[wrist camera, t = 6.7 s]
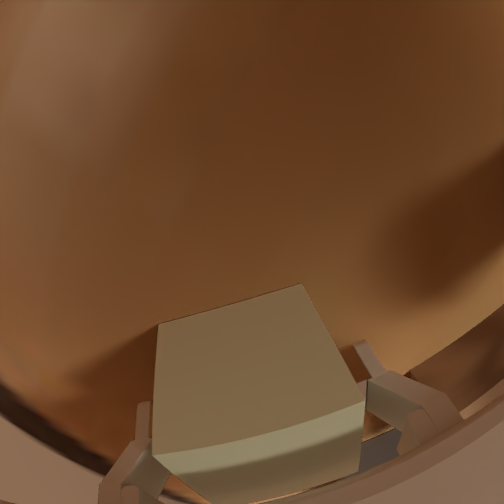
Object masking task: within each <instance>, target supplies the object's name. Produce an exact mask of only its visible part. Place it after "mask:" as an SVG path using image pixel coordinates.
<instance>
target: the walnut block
mask: <svg viewBox="0 0 504 504" xmlns="http://www.w3.org/2000/svg"><path fill="white" fill-rule="evenodd" d="M410 376H411V379H412V380H414V381H417V382H419V383H422V384H424V385H426V386H429V387H431V388H434V389H436V390H439V391H441V392H443V393H446V395H447V396H448V397H449V399H450V400H451V402H452V403H453V405H454V406H455V407H456V409H457V410H458V412H459V413H460V415H461V416H462V418H463V419H464V420H465V419H467V418H468V417H470V416H471V415H473V414H474V413H476V412H477V411H479V410H480V409H482V408H483V407H485V406H486V405H488V404H489V403H490V402H492V401H493V400H495V399H496V398H497V397H499V396H500V395H501V394H503V393H504V304H503V305H502V306H501V307H500V308H498V309H497V310H496V311H495V312H493V313H492V314H491V315H490V316H488V317H487V318H486V319H484V320H483V321H482V322H481V323H479V324H478V325H477V326H475V327H474V328H473V329H471V330H470V331H468V332H467V333H466V334H464V335H463V336H462V337H460V338H459V339H457V340H456V341H454V342H453V343H451V344H450V345H449V346H447V347H446V348H444V349H443V350H441V351H440V352H438V353H437V354H435V355H433V356H432V357H430V358H429V359H427V360H426V361H424V362H422V363H421V364H419V365H418V366H416V367H414V368H413V369H411V370H410Z"/></svg>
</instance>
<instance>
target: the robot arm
mask: <svg viewBox="0 0 504 504" xmlns="http://www.w3.org/2000/svg"><path fill="white" fill-rule="evenodd" d="M338 350H339V352H340V354H341V356H342V357H343V359H344V361H345V363H346V365H347V367H348V369H349V370H350V372H351V374H352V376H353V378H354V380H355V382H356V384H357V386H358V387H359V389H360V391H361V393H362V395H363V397H364V399H365V409H366V411H368V412H370V413H371V414H373V415H375V416H376V417H378V418H379V419H381V420H383V421H384V422H386V423H388V424H389V425H391V426H393V427H394V428H396V429H398V430H399V431H401V432H402V435H401V438H400V441H399V443H398V446H397V451H398V453H399V455H400V456H398V457H396V458H394V459H392V460H390V461H387V462H385V463H383V464H381V465H378V466H376V467H374V468H371V469H369V470H366V471H364V472H361V473H359V474H356V475H354V476H351V477H348V478H346V479H343V480H340V481H337V482H334V483H332V484H329V485H326V486H323V487H319V488H316V489H313V490H310V491H306V492H303V493H299V494H296V495H292V496H288V497H285V498H281V499H277V500H272V501H268V502H264V503H259V504H504V393H503V394H501V395H500V396H499V397H497V398H496V399H495V400H493V401H492V402H490V403H489V404H488V405H486V406H485V407H483V408H482V409H480V410H479V411H477V412H476V413H474V414H473V415H471V416H470V417H468V418H467V419H465V420H464V419H463V418H462V416H461V415H460V413H459V412H458V410H457V409H456V407H455V406H454V405H453V403H452V402H451V400H450V399H449V397H448V396H447V395H446V393H443V392H441V391H439V390H436V389H434V388H431V387H429V386H426V385H424V384H422V383H419V382H417V381H414V380H412V379H410V378H407V377H405V376H403V375H400V374H398V373H396V372H393V371H391V370H390V371H386V370H385V368H384V367H383V365H382V364H381V362H380V361H379V359H378V357H377V356H376V354H375V353H374V351H373V350H372V348H371V347H370V345H369V344H368V342H367V341H366V340H363V341H360V342H357V343H355V344H352V345H349V346H346V347H344V348H341V349H338ZM152 421H153V400H150V401H144V402H139V404H138V406H137V415H136V428H135V440H132V441H131V442H130V443H129V444H128V446H127V447H126V448H125V450H124V451H123V453H122V454H121V455H120V457H119V458H118V460H117V461H116V462H115V464H114V465H113V467H112V468H111V469H110V471H109V472H108V473H107V475H106V476H105V478H104V479H103V480H102V482H101V483H100V484H99V494H98V504H164V503H162V502H161V501H159V500H157V499H158V497H159V495H160V493H161V491H162V489H163V487H164V486H165V484H166V482H167V480H168V478H169V475H170V473H171V472H170V471H169V470H168V469H167V468H166V467H164V466H163V465H162V464H161V463H160V462H159V461H158V460H156V459H155V458H154V457H153V456H152ZM0 504H15V503H10V502H6V501H3V500H0Z"/></svg>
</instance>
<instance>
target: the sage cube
mask: <svg viewBox="0 0 504 504" xmlns="http://www.w3.org/2000/svg"><path fill="white" fill-rule="evenodd" d="M364 411H365V399H364V397H363V395H362V393H361V391H360V389H359V387H358V386H357V384H356V382H355V380H354V378H353V376H352V374H351V372H350V370H349V369H348V367H347V365H346V363H345V361H344V359H343V357H342V356H341V354H340V352H339V350H338V348H337V346H336V345H335V343H334V341H333V339H332V337H331V335H330V334H329V332H328V330H327V328H326V326H325V324H324V323H323V321H322V319H321V317H320V315H319V314H318V312H317V310H316V308H315V306H314V304H313V303H312V301H311V299H310V297H309V296H308V294H307V292H306V290H305V288H304V287H303V285H302V283H301V284H297V285H294V286H291V287H288V288H284V289H281V290H278V291H274V292H271V293H268V294H265V295H261V296H258V297H254V298H251V299H248V300H244V301H241V302H237V303H234V304H230V305H227V306H223V307H220V308H216V309H213V310H209V311H206V312H202V313H198V314H195V315H191V316H187V317H184V318H180V319H176V320H173V321H169V322H165V323H161V324H159V326H158V337H157V349H156V362H155V377H154V395H153V421H152V456H153V457H154V458H155V459H156V460H158V461H159V462H160V463H161V464H162V465H163V466H164V467H166V468H167V469H168V470H169V471H170V472H171V473H173V474H174V475H175V476H176V477H178V478H179V479H180V480H181V481H182V482H184V483H185V484H186V485H187V486H189V487H190V488H191V489H193V490H194V491H195V492H197V493H198V494H199V495H200V496H202V497H203V498H205V499H206V500H207V501H209V502H210V503H211V504H248V503H253V502H258V501H263V500H267V499H271V498H276V497H280V496H284V495H287V494H291V493H295V492H298V491H302V490H305V489H309V488H312V487H315V486H318V485H322V484H325V483H328V482H331V481H333V480H336V479H339V478H342V477H345V476H347V475H350V474H353V473H355V472H358V468H359V460H360V452H361V443H362V434H363V423H364Z"/></svg>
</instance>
